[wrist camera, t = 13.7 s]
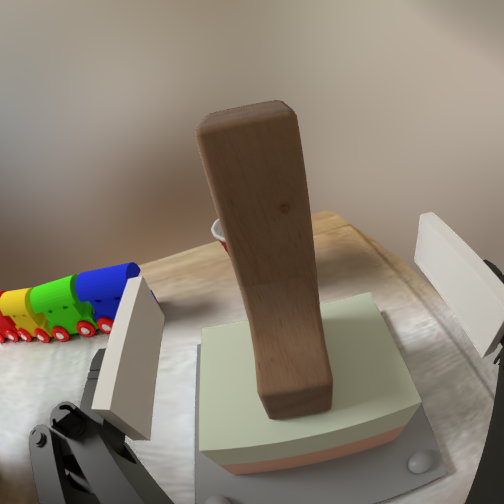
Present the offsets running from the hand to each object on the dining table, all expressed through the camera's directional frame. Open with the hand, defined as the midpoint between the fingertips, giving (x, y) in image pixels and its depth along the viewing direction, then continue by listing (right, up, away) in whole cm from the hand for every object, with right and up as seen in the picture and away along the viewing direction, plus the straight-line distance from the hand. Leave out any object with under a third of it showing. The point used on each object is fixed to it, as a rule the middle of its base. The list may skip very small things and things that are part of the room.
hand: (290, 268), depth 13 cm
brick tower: (+4, -17, +15) cm, 23 cm away
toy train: (-38, -14, +34) cm, 53 cm away
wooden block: (+2, -8, +9) cm, 12 cm away
